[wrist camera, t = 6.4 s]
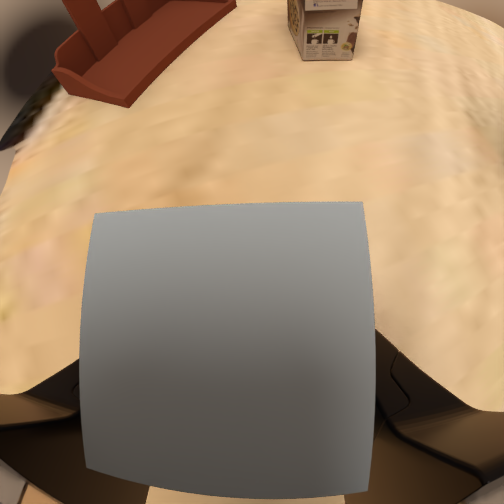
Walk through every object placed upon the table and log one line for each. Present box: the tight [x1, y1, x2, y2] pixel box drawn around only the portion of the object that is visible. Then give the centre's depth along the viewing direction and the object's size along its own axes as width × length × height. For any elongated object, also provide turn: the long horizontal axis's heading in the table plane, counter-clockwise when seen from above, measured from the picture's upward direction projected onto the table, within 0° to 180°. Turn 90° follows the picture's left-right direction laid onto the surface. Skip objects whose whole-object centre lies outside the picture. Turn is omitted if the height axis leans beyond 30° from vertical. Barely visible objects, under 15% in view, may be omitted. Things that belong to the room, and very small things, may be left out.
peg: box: [79, 202, 376, 499], centre depth 9 cm, size 4×4×12 cm
